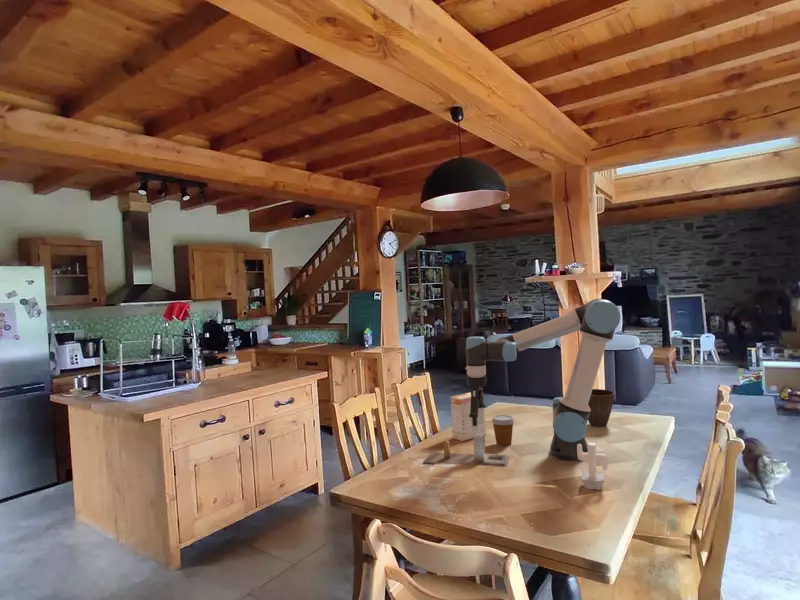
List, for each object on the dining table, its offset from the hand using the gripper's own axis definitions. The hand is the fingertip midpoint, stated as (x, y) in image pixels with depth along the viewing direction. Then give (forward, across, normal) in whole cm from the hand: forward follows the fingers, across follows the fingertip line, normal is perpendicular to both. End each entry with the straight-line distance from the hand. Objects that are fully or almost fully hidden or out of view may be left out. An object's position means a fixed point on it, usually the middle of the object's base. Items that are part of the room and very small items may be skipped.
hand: (478, 428), depth 200 cm
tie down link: (+13, 0, +4) cm, 13 cm away
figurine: (+13, +18, +42) cm, 47 cm away
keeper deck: (+13, 0, -5) cm, 14 cm away
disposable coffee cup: (+13, -22, +8) cm, 27 cm away
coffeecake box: (+14, -32, -9) cm, 36 cm away
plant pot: (+13, -58, +49) cm, 77 cm away
